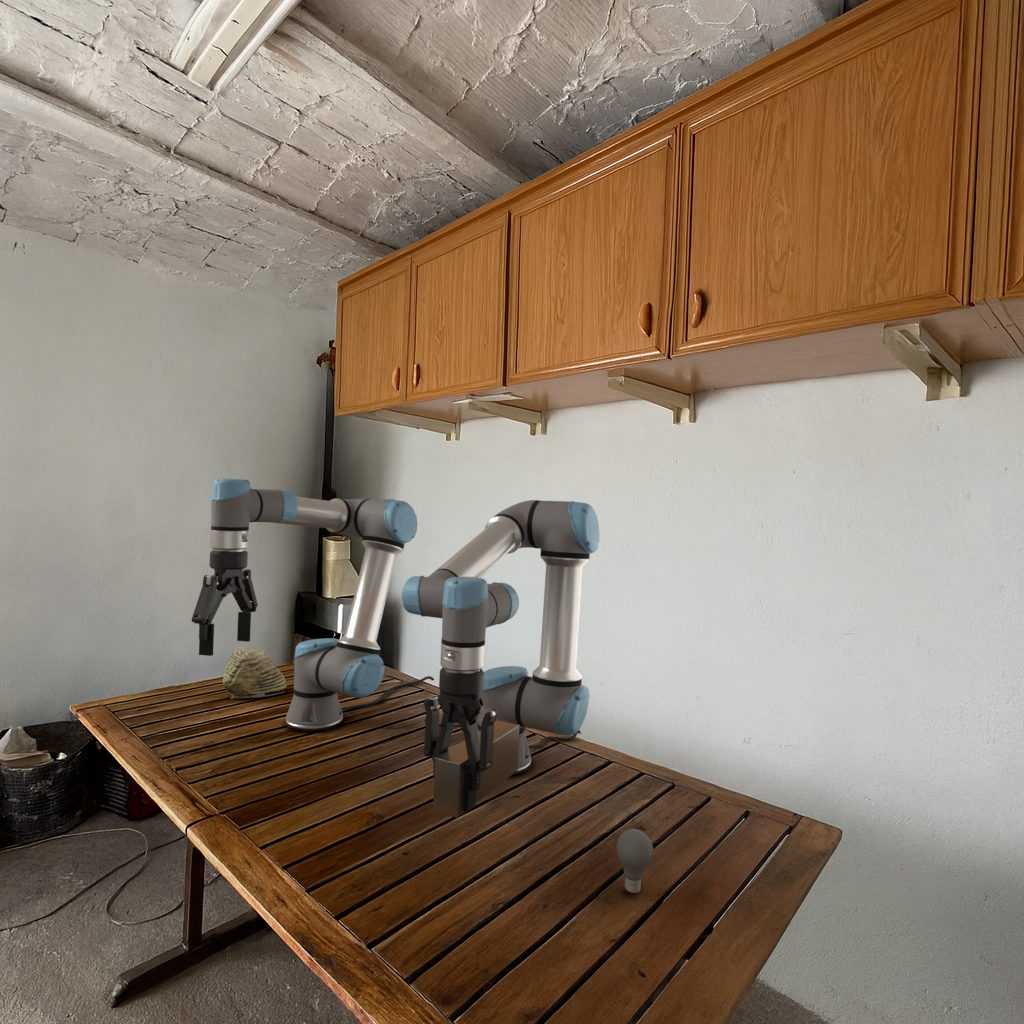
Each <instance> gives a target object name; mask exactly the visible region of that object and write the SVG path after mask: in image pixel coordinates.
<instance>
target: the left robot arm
mask: <svg viewBox="0 0 1024 1024" xmlns="http://www.w3.org/2000/svg"><path fill="white" fill-rule="evenodd" d="M210 509H211V511H210V517H211V518H210V534H209V536H210V537H209V548H210V549H212V550H211V551H210V552H209V568H211V569H213V575H212V574H204V576H203V579H202V586H201V590H200V592H199V596H198V598H197V602H196V605H195V608H194V610H193V613H192V617H191V622H192V623H194V624H195V625H196V624H197V625H198V640H199V641H198V655H199V656H206V657H207V656H208V657H212V656H214V642H215V641H214V639H215V623H212V622H213V620H214V618H215V616H216V614H217V612H218V610H219V608H220V606H221V604H222V602H223V600H224V598H226V597H227V596H228V595H229V594H230V595H231V594H232V596H233V598H234V600H235V602H236V604H237V606H238V607H239V610H240V611H238V612H237V632H236V633H237V634H236V640H237V642H246V643H247V642H249V643H250V642H251V627H252V626H251V624H252V613H256V612H257V607H258V605H259V604H258V600H257V599H258V598H257V596H256V592H255V588H254V584H253V580H252V570H251V569H249V568H248V569H247V567H248V563H249V562H248V559H249V552H248V551H246V550H247V549H248V547H249V539H250V536H249V530H250V523H272V524H282V525H292V526H300V527H313V528H321V529H326V530H327V531H328V532H331V533H338V534H342V535H347V536H351V537H355V538H359V539H361V544H362V545H363V547H364V549H365V550H364V551H365V552H364V555H363V559H362V563H361V566H360V570H359V575H358V579H357V584H356V587H355V591H354V596H353V600H352V603H351V608H350V612H349V616H348V620H347V622H346V623H347V624H346V628H345V632H344V635H342V636H341V637H340V638H339V639H338V638H335V637H334V638H332V637H329V638H315V639H308V640H304V641H302V642H299V643H298V644H297V645H296V646H295V652H294V653H295V654H294V656H293V659H294V661H293V662H294V663H293V664H294V668H293V695H292V696H293V697H292V699H291V702H290V704H289V708H288V711H287V713H286V715H285V726H286V728H287V729H289V730H291V731H294V732H295V731H296V732H301V733H316V732H325V731H329V730H332V729H335V728H337V727H339V726H340V725H342V723H343V722H344V714H343V711H348V710H353V709H354V710H355V709H360V708H366V707H369V706H373V705H376V704H378V703H380V702H381V701H382V700H383V699H384V697H386V696H387V695H388V694H389V693H391V692H392V691H395V690H397V689H399V688H403V687H408V686H413V685H419V684H420V683H422V682H424V681H426V680H430V681H435V679H434V677H433V676H430V675H427V676H424V677H423V678H420V679H418V680H415V681H410V682H407V683H406V682H405V683H400V684H397V685H395V686H392V687H390V688H389V689H387V690H386V691H385V692H384V693H382V694H381V695H380V696H379V698H377V699H375V700H373V701H370V702H366V703H360V704H353V705H348V706H341V702H340V699H339V695H338V694H340V695H343V696H345V697H347V698H355V699H365V698H367V697H369V696H370V695H372V694H373V693H374V692H375V691H377V689H378V688H379V686H380V685H381V683H382V681H383V679H384V675H385V664H384V661H383V658H381V656H380V652H381V647H380V645H379V644H378V642H377V640H378V635H379V631H380V626H381V623H382V618H383V615H384V611H385V605H386V602H387V598H388V593H389V590H390V589H389V588H390V584H391V580H392V575H393V571H394V568H395V564H396V559H397V556H398V555H399V554H401V553H403V552H404V548H405V544H407V543H409V542H411V541H412V540H413V539H414V538H415V537H416V534H417V532H418V518H417V514H416V513H415V510H414V508H413V507H412V505H411V504H410V503H408V502H406V501H404V500H398V499H395V498H391V499H387V498H385V499H383V498H380V499H379V498H350V499H349V498H346V499H343V498H332V499H330V500H325V499H318V498H310V497H305V496H304V497H303V496H296V495H295V493H293V492H292V491H290V490H284V489H268V488H267V489H266V488H265V489H264V488H252V486H251V482H250V480H249V479H243V478H242V479H241V478H223V477H222V478H221V477H219V478H216V479H215V480H214V481H213V483H212V488H211V497H210Z"/></svg>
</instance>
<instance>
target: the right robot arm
mask: <svg viewBox="0 0 1024 1024" xmlns="http://www.w3.org/2000/svg"><path fill="white" fill-rule="evenodd" d="M599 543H600V525H599V519H598V515H597V513H596V511H595V509H594V507H593V506H592V505H591V504H589V503H586V502H579V501H574V500H571V501H570V500H569V501H567V500H565V501H564V500H539V499H538V500H537V499H530V500H524V501H521V502H518V503H515V504H512V505H511V506H508V507H506V508H504V509H502V510H501V511H499V512H498V513H496V514H495V515H494V516H492V517H491V518H490V519H489V520H488V521H487V522H486V524H485V526H484V529H483V530H482V531H481V532H480V533H479V534H478V535H476V536H475V537H474V538H473V539H472V540H470V541H469V542H468V543H467V544H466V545H464V546H463V547H462V548H460V549H459V550H458V551H457V552H456V553H455V554H454V555H452V556H451V557H450V558H449V559H447V560H446V561H445V562H444V563H443V564H442V565H440V566H439V567H438V568H437V569H435V570H434V571H433V572H432V573H431V574H430V575H428V576H424V575H413V576H410V577H409V578H408V579H407V580H406V581H405V582H404V584H403V587H402V590H401V601H402V602H401V603H402V606H403V609H404V610H405V611H406V612H407V613H409V614H412V615H417V616H421V617H422V618H423V617H427V618H435V619H442V620H441V642H440V660H439V661H440V662H439V665H440V667H442V668H441V669H440V670H439V678H438V680H439V681H438V689H439V693H438V695H437V696H433V695H432V696H431V697H429V698H427V699H425V700H424V701H423V705H424V706H423V707H424V710H425V726H424V727H425V729H424V745H423V747H424V748H423V755H424V756H425V757H426V758H430V759H431V760H432V761H433V773H432V774H433V775H432V777H433V779H434V776H435V758H436V757H438V756H439V755H441V754H443V753H444V752H446V751H448V750H449V747H450V743H451V739H452V735H453V732H454V728H455V726H456V725H455V723H458V724H460V725H459V726H460V728H461V732H463V736H464V740H465V743H466V749H467V755H468V761H469V767H470V769H469V770H467V771H466V773H465V795H464V811H466V812H469V811H470V810H471V809H474V808H475V806H476V805H477V803H476V791H477V790H478V789H479V788H480V786H481V771H485V770H487V769H488V768H489V767H491V766H492V764H493V739H494V722H496V721H503V722H508V723H512V724H517V725H520V726H519V747H518V769H517V771H516V772H515V773H513V774H512V775H511V776H516V775H519V774H522V773H524V772H526V771H528V770H529V769H530V768H531V765H532V755H531V750H532V749H540V748H543V747H544V746H545V742H546V741H561V742H568V741H573V740H574V739H576V737H577V736H578V734H579V735H581V734H582V732H581V730H580V729H581V727H582V726H583V723H584V721H585V719H586V717H587V713H588V709H589V704H590V690H589V687H588V686H586V685H585V684H582V683H583V681H582V680H583V675H582V674H581V673H580V672H579V670H578V669H577V661H578V658H577V657H578V643H579V629H580V627H579V626H580V610H581V597H582V596H581V594H582V579H583V567H584V566H585V565H586V564H587V563H588V562H589V561H590V557H591V556H590V555H591V554H593V553H596V552H597V550H598V548H599ZM525 548H528V549H529V548H531V549H539V550H540V554H539V556H540V558H541V560H542V561H544V563H545V576H544V591H543V607H542V623H541V635H540V636H541V637H540V638H541V639H540V653H539V665H538V666H537V667H536V668H535V669H534V670H533V671H532V676H529V671H528V669H527V667H523V666H519V665H506V666H505V665H504V666H497V667H493V668H488V669H487V670H483V668H484V667H485V656H486V655H485V653H486V650H485V649H486V631H487V628H491V627H493V626H496V625H502V624H504V623H506V622H507V621H509V620H511V619H512V618H513V617H515V615H516V614H517V612H518V611H519V606H520V599H519V595H518V592H517V590H516V589H515V588H514V587H513V586H512V585H511V584H508V583H505V582H496V581H494V582H492V583H488V582H487V580H486V579H484V578H483V577H484V576H485V575H486V574H487V573H488V572H489V571H491V569H492V568H494V566H496V565H497V564H498V563H499V562H500V561H501V560H502V559H503V558H504V557H505V556H507V555H509V554H513V553H516V551H517V550H519V549H525ZM440 709H441V711H443V717H442V721H441V725H439V712H440ZM439 728H440V729H439ZM526 728H528V729H533V730H538V731H542V732H546V733H551V734H554V736H553V735H551V736H550V735H549V736H548V735H547V736H544V737H542V739H541V742H540V743H537V744H530V745H529V743H528V739H527V736H526ZM479 731H481V736H480V743H479V737H478V732H479ZM555 735H563V736H569V737H563V736H555Z"/></svg>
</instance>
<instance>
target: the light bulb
mask: <svg viewBox="0 0 1024 1024" xmlns="http://www.w3.org/2000/svg"><path fill="white" fill-rule="evenodd" d="M615 849H616V854H617V857H618V859H619V861H620V863H621V865H622V867H623V873H624V874H623V875H624V876H625V878H624V888H625V890H627V891H628V892H630V893H634V894H635V893H639V892H640V891H641V889H642V887H641V886H642V879H643V877H644V875H645V871H646V868H647V867H648V866H649V864H650V863H651V861H652V859H653V855H654V847H653V843H652V841H651V838H649V836H648V835H647V834H646V833H645V832H643V831H642V830H641V829H636V828H629V829H627V830H625V831H623V832H622V833H621V834H620V835H619V837H618V839H617V841H616V847H615Z"/></svg>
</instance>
